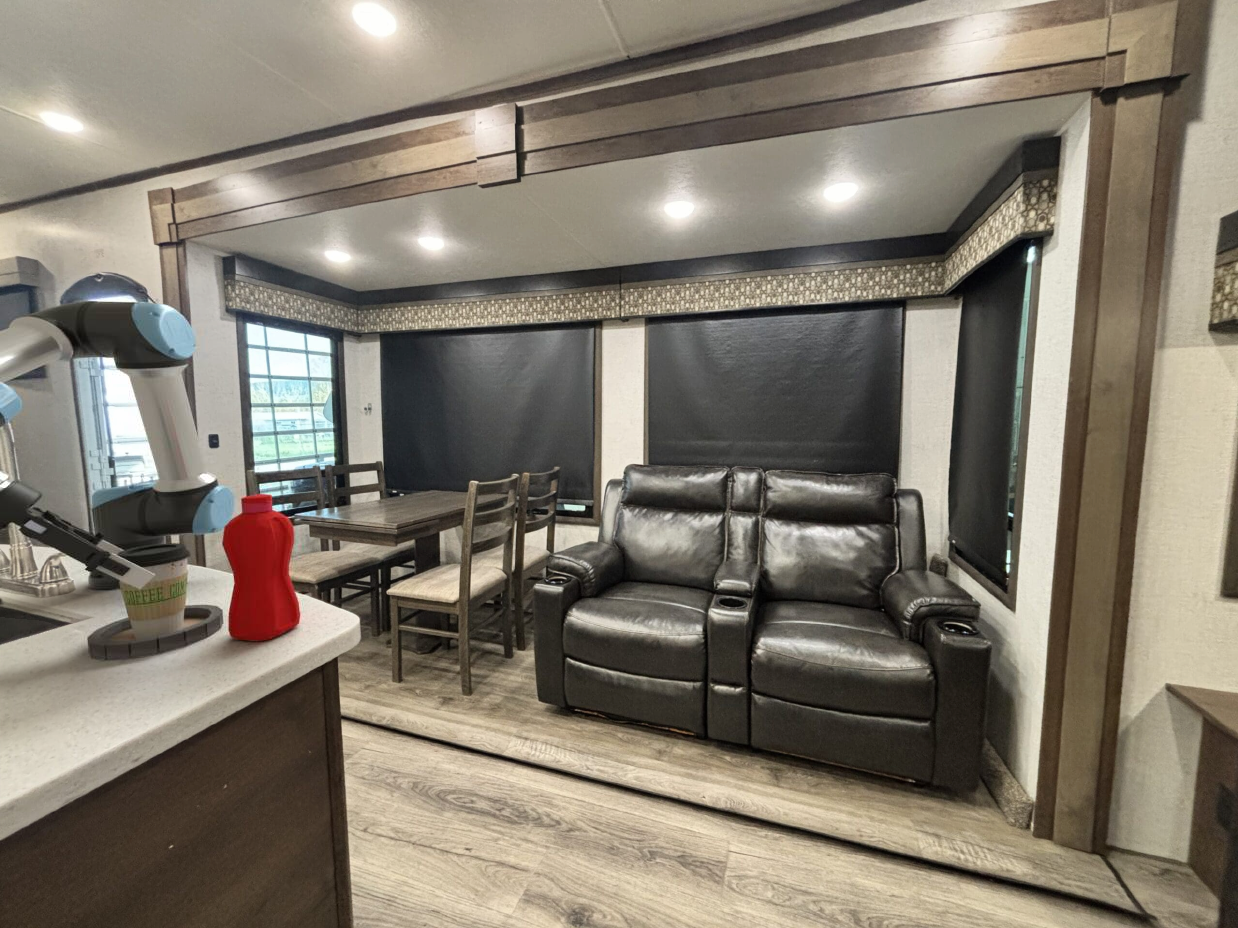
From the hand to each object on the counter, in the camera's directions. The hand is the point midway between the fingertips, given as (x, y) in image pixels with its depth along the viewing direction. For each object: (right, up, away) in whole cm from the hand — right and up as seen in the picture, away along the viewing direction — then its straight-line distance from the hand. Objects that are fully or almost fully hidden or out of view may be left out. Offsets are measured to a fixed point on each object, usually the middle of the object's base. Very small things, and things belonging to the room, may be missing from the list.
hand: (141, 573), depth 83 cm
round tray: (+1, -12, +3) cm, 12 cm away
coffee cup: (+1, -11, +2) cm, 11 cm away
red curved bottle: (+18, -12, +4) cm, 22 cm away
